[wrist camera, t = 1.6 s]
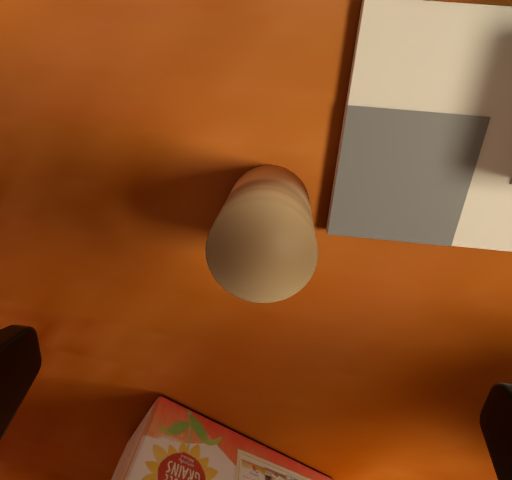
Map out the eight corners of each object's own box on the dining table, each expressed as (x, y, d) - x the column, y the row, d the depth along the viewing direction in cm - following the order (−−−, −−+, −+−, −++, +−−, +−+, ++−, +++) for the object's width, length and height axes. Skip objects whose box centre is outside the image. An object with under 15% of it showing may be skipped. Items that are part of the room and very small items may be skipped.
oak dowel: (303, 244, 19) (309, 308, 14) (227, 237, 20) (204, 296, 14) (314, 168, 18) (325, 206, 12) (231, 161, 18) (206, 195, 13)
